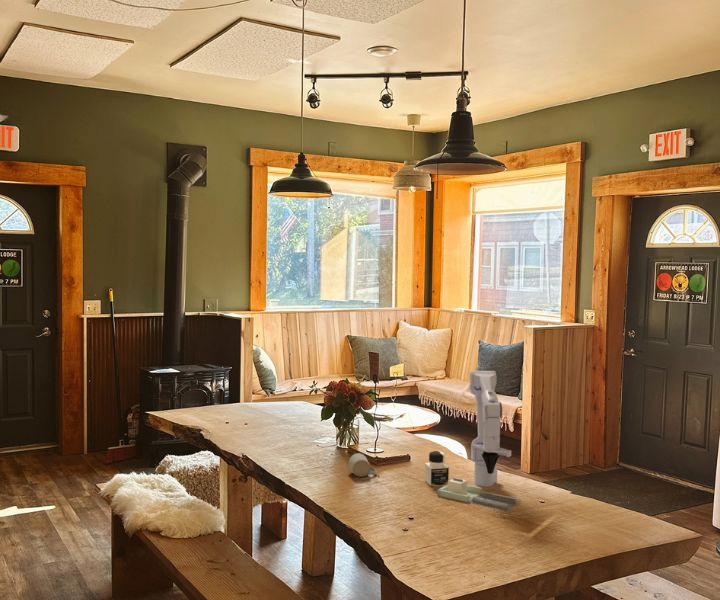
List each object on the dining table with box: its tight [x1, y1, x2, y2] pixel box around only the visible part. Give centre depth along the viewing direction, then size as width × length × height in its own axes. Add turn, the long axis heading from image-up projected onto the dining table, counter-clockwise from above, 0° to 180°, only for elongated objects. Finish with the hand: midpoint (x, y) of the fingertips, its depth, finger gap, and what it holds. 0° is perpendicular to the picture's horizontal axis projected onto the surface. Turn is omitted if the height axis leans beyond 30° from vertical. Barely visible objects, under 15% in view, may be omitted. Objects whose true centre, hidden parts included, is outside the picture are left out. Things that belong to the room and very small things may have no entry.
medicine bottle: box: [424, 450, 450, 487], centre depth 286 cm, size 7×7×12 cm
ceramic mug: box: [348, 452, 378, 478], centre depth 295 cm, size 11×8×8 cm
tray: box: [436, 484, 483, 503], centre depth 271 cm, size 12×12×3 cm
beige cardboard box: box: [448, 477, 468, 495], centre depth 271 cm, size 5×5×6 cm
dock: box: [467, 490, 521, 512], centre depth 263 cm, size 12×15×2 cm
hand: (490, 473), depth 269 cm, fingers closed
